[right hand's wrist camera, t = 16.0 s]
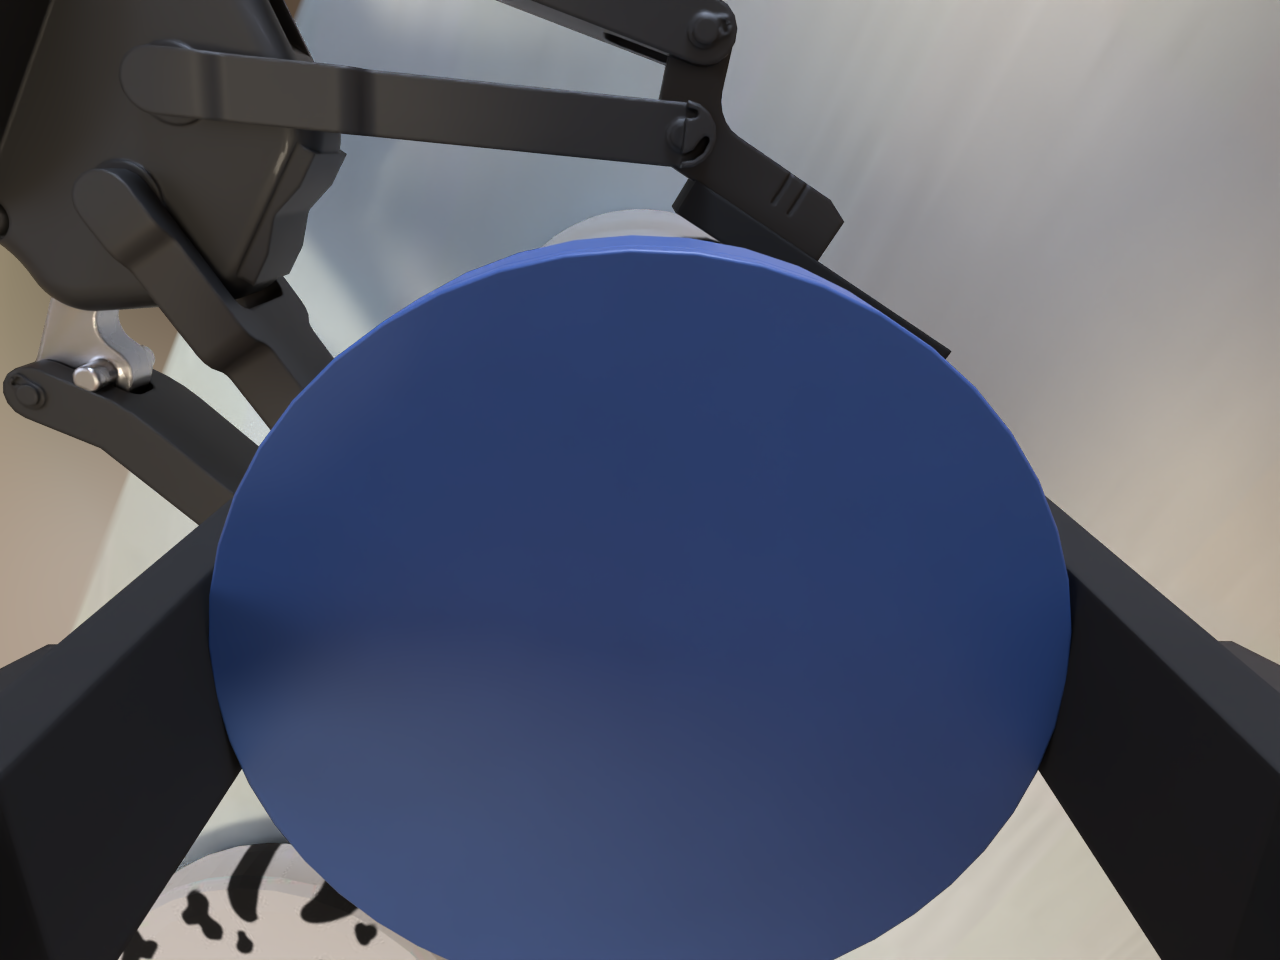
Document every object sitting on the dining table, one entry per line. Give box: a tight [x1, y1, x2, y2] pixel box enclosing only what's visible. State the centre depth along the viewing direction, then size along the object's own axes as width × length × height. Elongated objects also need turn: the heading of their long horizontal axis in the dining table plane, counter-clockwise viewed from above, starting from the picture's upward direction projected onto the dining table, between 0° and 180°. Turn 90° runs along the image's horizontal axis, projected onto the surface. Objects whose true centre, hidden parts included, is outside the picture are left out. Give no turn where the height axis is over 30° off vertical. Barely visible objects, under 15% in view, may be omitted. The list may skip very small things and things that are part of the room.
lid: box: [209, 235, 1072, 960], centre depth 11 cm, size 10×10×2 cm
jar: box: [541, 209, 722, 248], centre depth 19 cm, size 9×9×17 cm
